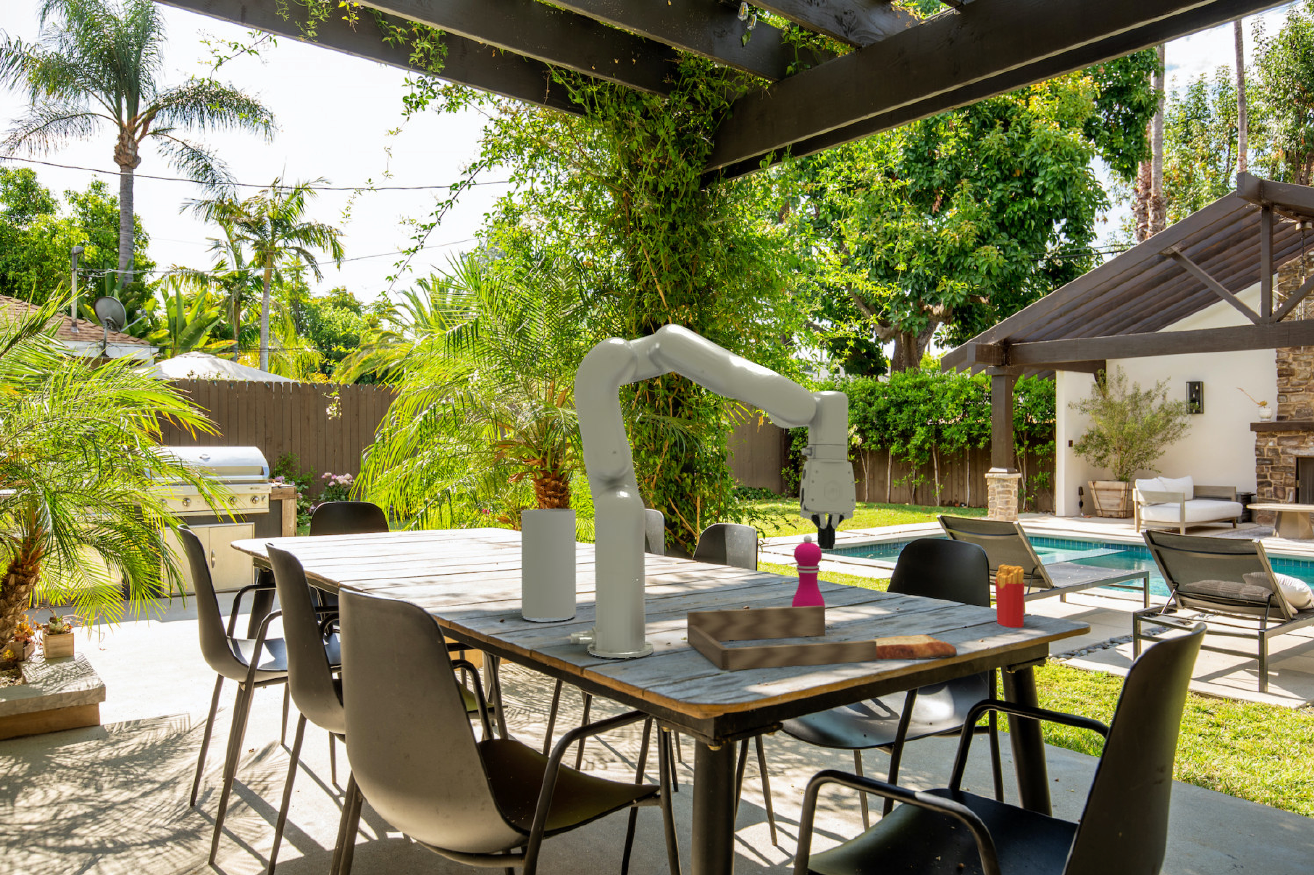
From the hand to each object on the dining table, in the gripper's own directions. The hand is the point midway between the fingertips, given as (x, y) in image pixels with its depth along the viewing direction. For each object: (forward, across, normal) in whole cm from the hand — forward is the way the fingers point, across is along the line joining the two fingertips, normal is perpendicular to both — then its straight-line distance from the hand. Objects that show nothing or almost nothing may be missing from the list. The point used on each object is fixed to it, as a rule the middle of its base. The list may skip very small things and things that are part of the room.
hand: (826, 548), depth 170 cm
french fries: (+18, +49, +12) cm, 53 cm away
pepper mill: (+19, +5, +20) cm, 28 cm away
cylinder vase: (+21, -49, +45) cm, 70 cm away
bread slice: (+20, +12, -8) cm, 24 cm away
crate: (+20, -9, 0) cm, 22 cm away
